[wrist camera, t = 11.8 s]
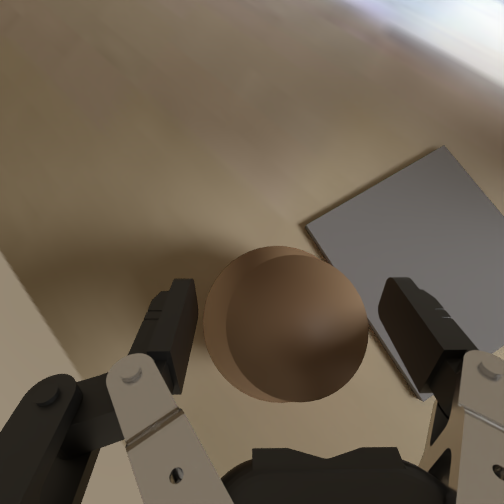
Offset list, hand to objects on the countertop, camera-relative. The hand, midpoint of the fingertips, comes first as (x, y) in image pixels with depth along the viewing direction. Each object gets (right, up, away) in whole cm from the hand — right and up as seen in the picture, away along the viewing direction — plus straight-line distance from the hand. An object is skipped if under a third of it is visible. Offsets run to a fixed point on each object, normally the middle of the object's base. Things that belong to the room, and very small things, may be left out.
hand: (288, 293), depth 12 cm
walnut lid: (0, -3, +6) cm, 6 cm away
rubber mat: (+14, +1, +12) cm, 18 cm away
